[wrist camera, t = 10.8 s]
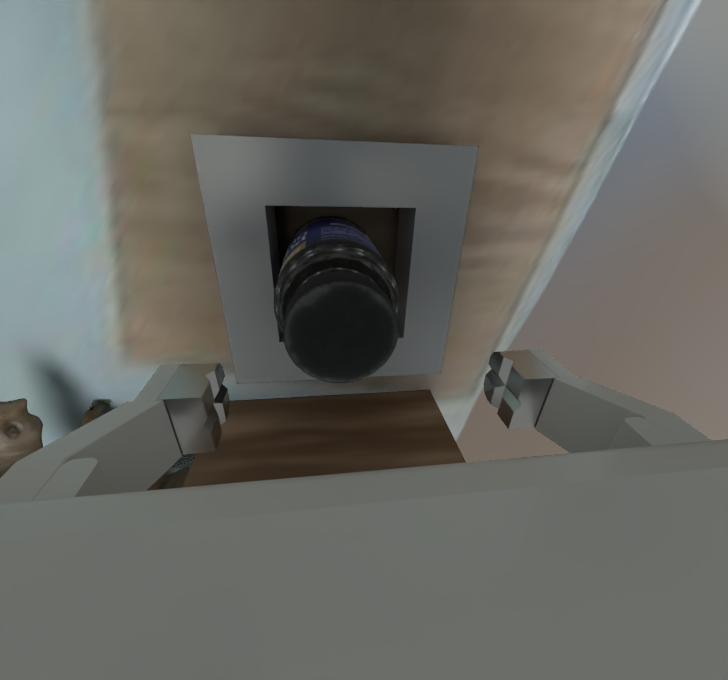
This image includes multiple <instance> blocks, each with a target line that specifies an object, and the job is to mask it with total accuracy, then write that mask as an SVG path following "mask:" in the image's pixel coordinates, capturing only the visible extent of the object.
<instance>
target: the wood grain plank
mask: <svg viewBox="0 0 728 680" xmlns="http://www.w3.org/2000/svg"><path fill="white" fill-rule="evenodd" d="M221 429H222V435H221V438H220V441H219V444H218V447H217V450H216V451H215V452H205V453H196V455H195V458H194V460H193V462H192V465H191V467H190V470H189V472H188V475H187V477H186V479H185V482H184V484H183V487H194V486H206V485H217V484H228V483H240V482H251V481H262V480H274V479H285V478H296V477H308V476H319V475H330V474H342V473H353V472H364V471H375V470H386V469H398V468H409V467H420V466H431V465H442V464H453V463H464V462H465V460H464V458H463V456H462V454H461V452H460V450H459V448H458V446H457V444H456V442H455V440H454V438H453V436H452V434H451V432H450V430H449V428H448V426H447V424H446V422H445V420H444V418H443V416H442V414H441V412H440V410H439V408H438V406H437V404H436V402H435V400H434V398H433V396H432V394H431V392H430V390H422V391H404V392H386V393H369V394H351V395H333V396H315V397H297V398H279V399H261V400H243V401H229V413H228V417H227V420H226V422H224V423H223V424H222V425H221ZM183 487H182V488H183Z"/></svg>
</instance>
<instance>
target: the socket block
mask: <svg viewBox="0 0 728 680" xmlns="http://www.w3.org/2000/svg"><path fill="white" fill-rule="evenodd" d="M190 136H191V141H192V146H193V152H194V157H195V162H196V168H197V173H198V178H199V184H200V189H201V194H202V200H203V205H204V210H205V216H206V221H207V227H208V232H209V237H210V243H211V248H212V253H213V259H214V264H215V269H216V275H217V280H218V285H219V291H220V296H221V301H222V307H223V312H224V318H225V323H226V328H227V334H228V339H229V344H230V350H231V355H232V360H233V366H234V371H235V376H236V382H237V384H241V383H261V382H281V381H302V380H318V379H315V378H313V377H311V376H309V375H307V374H306V373H304V372H303V371H302V370H301V369H300V368H299V367H297V366H296V365H295V364H294V363H293V361H292V359H291V358H290V357H289V355H288V352H287V351H286V348H285V344H284V339H283V331H282V330H281V329H280V326H279V324H278V322H277V319H276V316H275V313H274V291H275V287H276V283H277V279H278V277H279V274H280V262H279V251H278V240H277V229H276V219H275V208H274V206H331V207H391V208H399V217H398V231H397V244H396V258H395V271H394V277H395V280H396V283H397V287H398V292H399V309H398V314H397V321H398V340H397V344H396V347H395V349H394V351H393V353H392V355H391V356H390V357H389V359H388V361H387V362H386V363H385V364H384V365H383V366H382V367H381V368H379V369H378V370H377V371H376V372H375V373H373V374H371V375H369V376H367V377H383V376H403V375H423V374H441V370H442V364H443V358H444V352H445V346H446V340H447V334H448V328H449V322H450V316H451V310H452V304H453V298H454V292H455V286H456V280H457V274H458V268H459V262H460V257H461V251H462V245H463V239H464V233H465V227H466V221H467V215H468V209H469V203H470V197H471V191H472V185H473V179H474V173H475V167H476V161H477V155H478V149H479V146H461V145H438V144H414V143H390V142H366V141H343V140H319V139H295V138H271V137H248V136H224V135H200V134H190Z"/></svg>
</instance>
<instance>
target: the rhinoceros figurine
mask: <svg viewBox="0 0 728 680" xmlns="http://www.w3.org/2000/svg"><path fill="white" fill-rule="evenodd" d="M109 402H110V400H107V401H106V400H94V401H93V403H91V404H92V406H93V407H92V406H90V409H89V410H88V411H86V413H85V414H84V416H83V419H82V426H84V425H86V424H87V423H89V422H91V421H93V420H95V419H97V418H99V417H100V416H101V415H102V412H103V411H104V410H105V409H106V408H108V406H109V404H110V403H109ZM111 402H112V401H111ZM42 427H43V423H42V421H41V420H40V418H39V417H37V416H35V415H32V414H30V413H29V412H28V410H27V400H26V399H24V398H23V399H17V400H13V401H8V402H0V478H1V477H2V476H3V475H4V474H5V473H6V472H7V471H8V470H9V469H10V468H11V467H12V466H13V465H14V464H15V463H16V462H17V461H19V460H21V459H22V458H24V457H26V456H28V455H30V454H32V453H34V452H35V451H37V450H39V449H41V448H43V444H42ZM190 467H191V466H189V467H184V468H174V467H173V466H172V467H171V468H169V469H168V470H167V471H166V472H165V473H164V474H163V475H162V476H161V477H160V478H159V479H158V480H157V481H156V482H155V483H154V484H153V485H152V486H151V487H150V488H148V489H147V490H146V491H149V490H160V489H172V488H182V487H183V484H184V482H185V479H186V477H187V475H188V472H189V470H190Z"/></svg>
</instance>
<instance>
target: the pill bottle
mask: <svg viewBox="0 0 728 680" xmlns="http://www.w3.org/2000/svg"><path fill="white" fill-rule="evenodd" d="M398 309H399V292H398V287H397V283H396V280H395V277H394V276H393V274H392V271H391V270H390V268H389V267H388V266H387V264H386V263H385V261H384V260H383V258H382V257H381V255H380V253H379V252H378V251H377V249H376V247H375V246H374V244H373V243H372V242H371V240H370V239H369V237H368V236H367V234H366V233H365V232H364V231H363V230H362V229H361V228H360V227H359V226H358V225H356V224H355V223H353V222H350V221H348V220H346V219H343V218H340V217H332V216H326V217H319V218H316V219H315V220H312V221H311V222H309V223H307V224H305V225H303V226H301V227H300V228H299V229H298V230H297V231H296V232H295V234H294V235H293V237H292V238H291V240H290V242H289V245H288V248H287V250H286V254H285V257H284V260H283V264H282V267H281V270H280V274H279V277H278V279H277V283H276V287H275V291H274V313H275V316H276V319H277V322H278V324H279V326H280V329H281V330H282V331H283V339H284V344H285V348H286V351H287V352H288V355H289V357H290V358H291V359H292V361H293V363H294V364H295V365H296V366H297V367H299V368H300V369H301V370H302V371H303V372H304V373H306V374H307V375H309V376H311V377H313V378H315V379H318V380H321V381H325V382H332V383H347V382H353V381H357V380H360V379H363V378H365V377H367V376H369V375H371V374H373V373H375V372H376V371H377V370H378V369H379V368H381V367H382V366H383V365H384V364H385V363H386V362H387V361H388V359H389V357H390V356H391V355H392V353H393V351H394V349H395V347H396V344H397V340H398V321H397V314H398Z"/></svg>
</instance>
